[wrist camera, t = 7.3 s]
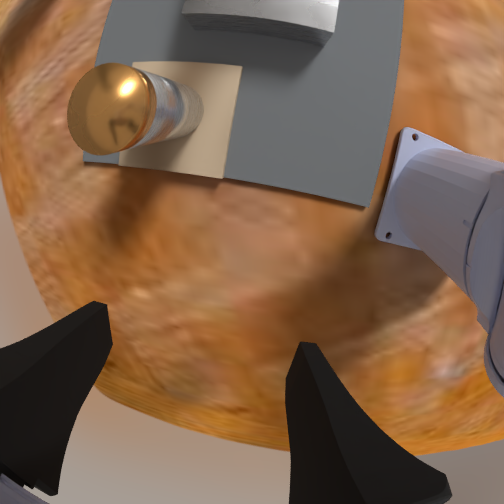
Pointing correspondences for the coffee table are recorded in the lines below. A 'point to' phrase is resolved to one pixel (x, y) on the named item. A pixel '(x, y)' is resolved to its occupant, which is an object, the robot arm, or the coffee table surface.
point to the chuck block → (266, 18)
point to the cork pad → (208, 131)
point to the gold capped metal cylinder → (129, 109)
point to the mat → (284, 91)
